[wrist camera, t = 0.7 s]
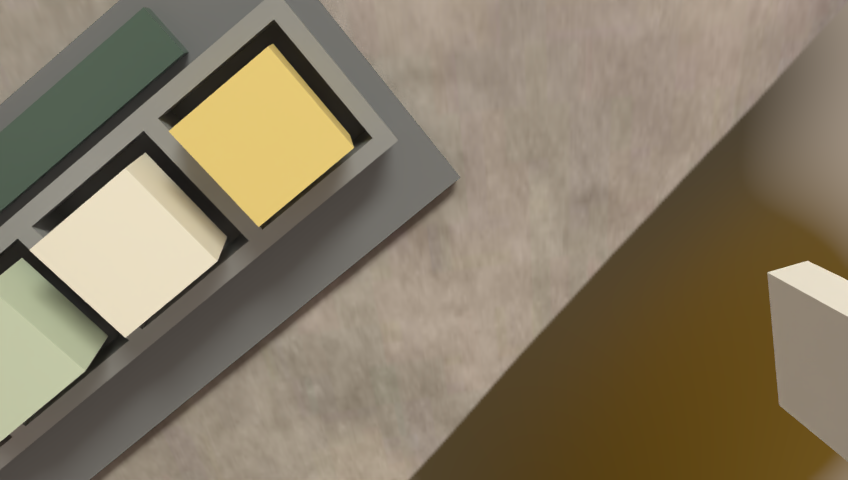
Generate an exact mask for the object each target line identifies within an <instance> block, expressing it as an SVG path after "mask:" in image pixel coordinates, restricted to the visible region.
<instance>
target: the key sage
mask: <svg viewBox="0 0 848 480" xmlns="http://www.w3.org/2000/svg"><path fill="white" fill-rule="evenodd" d="M107 337H108V335H107V334H106V333H105V332H103V331H102V330H101V329H100V328H99V327H98V326H97V325H96V324H95V323H94V322H92V321H91V320H90V319H89V318H88V317H87V316H86V315H85V314H84V313H82V312H81V311H80V310H79V309H78V308H77V307H76V306H75V305H74V304H73V303H71V302H70V301H69V300H68V299H67V298H66V297H65V296H64V295H63V294H62V293H60V292H59V291H58V290H57V289H56V288H55V287H54V286H53V285H52V284H50V283H49V282H48V281H47V280H46V279H45V278H44V277H43V276H42V275H41V274H39V273H38V272H37V271H36V270H35V269H34V268H33V267H32V266H31V265H30V264H28V263H27V262H26V261H25V260H24V259H23V258H21V259H20V260H19V261H17V262H16V263H15V264H14V265H12V266H11V267H10V268H9V269H7V270H6V271H5V272H4V273H2V274H1V275H0V442H1V441H2V440H3V439H4V438H5V437H7V436H8V435H9V434H10V433H11V432H13V431H14V430H15V429H16V428H17V427H19V426H20V425H21V424H22V423H23V422H25V421H26V420H27V419H28V418H29V417H31V416H32V415H33V414H34V413H35V412H37V411H38V410H39V409H40V408H41V407H43V406H44V405H45V404H46V403H47V402H49V401H50V400H51V399H52V398H54V397H55V396H56V395H57V394H58V393H60V392H61V391H62V390H63V389H64V388H66V387H67V386H68V385H69V384H70V383H72V382H73V381H74V380H75V379H76V378H78V377H79V376H80V375H81V374H82V373H84V372H85V371H86V369H87V368H88V366H89V365H90V363H91V362H92V360H93V359H94V357H95V356H96V354H97V353H98V351H99V350H100V348H101V346H102V345H103V343H104V342H105V340H106V339H107Z"/></svg>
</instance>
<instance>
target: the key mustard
mask: <svg viewBox="0 0 848 480" xmlns="http://www.w3.org/2000/svg"><path fill="white" fill-rule="evenodd" d="M169 132H170V134H171V135H172V136H173V137H174V138H175V139H176V140H177V141H178V142H179V143H180V144H181V145H182V146H183V147H184V148H185V149H186V150H187V152H188V153H189V154H190V155H191V156H192V157H193V158H194V159H195V160H196V161H197V162H198V163H199V164H200V165H201V166H202V167H203V169H204V170H205V171H206V172H207V173H208V174H209V175H210V176H211V177H212V178H213V179H214V180H215V181H216V182H217V183H218V184H219V185H220V187H221V188H222V189H223V190H224V191H225V192H226V193H227V194H228V195H229V196H230V197H231V198H232V199H233V200H234V201H235V202H236V204H237V205H238V206H239V207H240V208H241V209H242V210H243V211H244V212H245V213H246V214H247V215H248V216H249V217H250V218H251V219H252V220H253V222H254V223H255V224H256V225H257V226H258V227H259V226H261V225H262V224H263V223H264V222H265V221H267V220H268V219H269V218H270V217H271V216H273V215H274V214H275V213H276V212H277V211H279V210H280V209H281V208H282V207H284V206H285V205H286V204H287V203H288V202H290V201H291V200H292V199H293V198H294V197H296V196H297V195H298V194H299V193H300V192H302V191H303V190H304V189H305V188H306V187H308V186H309V185H310V184H311V183H312V182H314V181H315V180H316V179H317V178H318V177H320V176H321V175H322V174H323V173H324V172H326V171H327V170H328V169H329V168H330V167H332V166H333V165H334V164H335V163H336V162H338V161H339V160H340V159H341V158H343V157H344V156H345V155H346V154H347V153H349V152H350V151H351V150H352V149H353V148H354V146H353V143H352V140H351V137H350V134H349V133H348V132H347V131H346V130H345V128H344V127H343V126H342V125H341V124H340V122H339V121H338V120H337V119H336V118H335V117H334V115H333V114H332V113H331V112H330V111H329V109H328V108H327V107H326V106H325V105H324V103H323V102H322V101H321V100H320V99H319V98H318V96H317V95H316V94H315V93H314V92H313V90H312V89H311V88H310V87H309V86H308V84H307V83H306V82H305V81H304V80H303V79H302V77H301V76H300V75H299V74H298V73H297V71H296V70H295V69H294V68H293V67H292V65H291V64H290V63H289V62H288V61H287V60H286V58H285V57H284V56H283V55H282V54H281V52H280V51H279V50H278V49H277V48H276V46H275V45H274V44H271V45H270V46H268V47H267V48H265V49H264V50H263V51H262V52H261V53H260V54H258V55H257V56H256V57H255V58H254V59H253V60H251V61H250V62H249V63H248V64H247V65H246V66H244V67H243V68H242V69H241V70H240V71H238V72H237V73H236V74H235V75H234V76H233V77H231V78H230V79H229V80H228V81H227V82H226V83H224V84H223V85H222V86H221V87H220V88H219V89H217V90H216V91H215V92H214V93H213V94H212V95H210V96H209V97H208V98H207V99H206V100H204V101H203V102H202V103H201V104H200V105H199V106H197V107H196V108H195V109H194V110H193V111H192V112H190V113H189V114H188V115H187V116H186V117H185V118H183V119H182V120H181V121H180V122H179V123H178V124H176V125H175V126H174V127H173V128H172V129H170V130H169Z"/></svg>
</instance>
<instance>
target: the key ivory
mask: <svg viewBox="0 0 848 480" xmlns="http://www.w3.org/2000/svg"><path fill="white" fill-rule="evenodd" d="M226 239H227V236H226V235H225V234H224V233H223V232H222V231H221V230H220V229H219V228H218V227H217V226H216V225H215V224H214V223H213V222H212V221H211V220H210V219H209V218H208V217H207V216H206V214H205V213H204V212H203V211H202V210H201V209H200V208H199V207H198V206H197V205H196V204H195V203H194V202H193V201H192V200H191V199H190V198H189V197H188V196H187V195H186V194H185V193H184V192H183V191H182V190H181V189H180V188H179V187H178V186H177V184H176V183H175V182H174V181H173V180H172V179H171V178H170V177H169V176H168V175H167V174H166V173H165V172H164V171H163V170H162V169H161V168H160V167H159V166H158V165H157V164H156V163H155V162H154V161H153V160H152V159H151V158H150V157H149V156H148V155H147V153H146V152H145V153H144V154H143V155H142V156H140V157H139V158H138V159H136V160H135V161H134V162H132V163H131V164H130V165H129V166H127V167H126V168H125V169H124V170H122V171H121V172H120V173H119V174H118V175H117V176H115V177H114V178H113V179H112V180H111V181H109V182H108V183H107V184H106V185H105V186H104V187H102V188H101V189H100V190H99V191H98V192H97V193H95V194H94V195H93V196H92V197H91V198H90V199H88V200H87V201H86V202H85V203H84V204H83V205H81V206H80V207H79V208H78V209H77V210H75V211H74V212H73V213H72V214H71V215H70V216H68V217H67V218H66V219H65V220H64V221H63V222H61V223H60V224H59V225H58V226H57V227H56V228H54V229H53V230H52V231H51V232H50V233H49V234H47V235H46V236H45V237H44V238H43V239H41V240H40V241H39V242H38V243H37V244H36V245H34V246H33V247H32V248H31V249H30V251H31V252H32V253H33V254H34V255H35V256H36V257H37V258H38V259H39V260H41V261H42V262H43V263H44V264H45V265H46V266H47V267H48V268H49V269H50V270H52V271H53V272H54V273H55V274H56V275H57V276H58V277H59V278H60V279H61V280H62V281H64V282H65V283H66V284H67V285H68V286H69V287H70V288H71V289H72V290H73V291H74V292H76V293H77V294H78V295H79V296H80V297H81V298H82V299H83V300H84V301H85V302H87V303H88V304H89V305H90V306H91V307H92V308H93V309H94V310H95V311H96V312H97V313H99V314H100V315H101V316H102V317H103V318H104V319H105V320H106V321H107V322H108V323H110V324H111V325H112V326H113V327H114V328H115V329H116V330H117V331H118V332H119V333H120V334H122V335H123V336H124V337H125V338H126V337H127V336H128V335H129V334H131V333H132V332H133V331H134V330H135V329H137V328H138V327H139V326H140V325H141V324H143V323H144V322H145V321H146V320H147V319H149V318H150V317H151V316H152V315H153V314H155V313H156V312H157V311H158V310H159V309H161V308H162V307H163V306H164V305H165V304H167V303H168V302H169V301H170V300H172V299H173V298H174V297H175V296H176V295H178V294H179V293H180V292H181V291H182V290H184V289H185V288H186V287H187V286H188V285H190V284H191V283H192V282H193V281H194V280H196V279H197V278H198V277H199V276H200V275H202V274H203V273H204V272H205V271H206V270H208V269H209V268H210V267H211V266H212V265H214V264H215V263H216V262H217V261H218V259H219V256H220V254H221V251H222V249H223V246H224V244H225V241H226Z"/></svg>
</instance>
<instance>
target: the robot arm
mask: <svg viewBox="0 0 848 480" xmlns="http://www.w3.org/2000/svg"><path fill="white" fill-rule="evenodd" d="M768 284H769V295H770V307H771V316H772V317H771V318H772V329H773V340H774V352H775V364H776V374H777V385H778V397H779V405H780V406H781V407H782V408H784V409H785V410H786V411H787V412H788V413H790V414H791V415H792V416H793V417H794V418H796V419H797V420H798V421H799V422H801V423H802V424H803V425H804V426H805V427H807V428H808V429H809V430H810V431H811V432H813V433H814V434H815V435H816V436H818V437H819V438H820V439H821V440H822V441H824V442H825V443H826V444H827V445H828V446H830V447H831V448H832V449H833V450H835V451H836V452H837V453H838V454H839V455H841V456H842V457H843V458H844V459H845V460H847V461H848V280H846V279H844V278H842V277H840V276H838V275H836V274H834V273H832V272H830V271H827V270H825V269H823V268H821V267H819V266H817V265H815V264H813V263H811V262H809V261H806V262H802V263H799V264H795V265H792V266H788V267H785V268H781V269H778V270H775V271H771V272H768Z"/></svg>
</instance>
